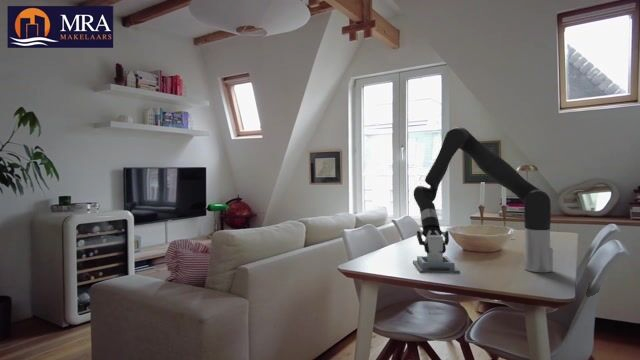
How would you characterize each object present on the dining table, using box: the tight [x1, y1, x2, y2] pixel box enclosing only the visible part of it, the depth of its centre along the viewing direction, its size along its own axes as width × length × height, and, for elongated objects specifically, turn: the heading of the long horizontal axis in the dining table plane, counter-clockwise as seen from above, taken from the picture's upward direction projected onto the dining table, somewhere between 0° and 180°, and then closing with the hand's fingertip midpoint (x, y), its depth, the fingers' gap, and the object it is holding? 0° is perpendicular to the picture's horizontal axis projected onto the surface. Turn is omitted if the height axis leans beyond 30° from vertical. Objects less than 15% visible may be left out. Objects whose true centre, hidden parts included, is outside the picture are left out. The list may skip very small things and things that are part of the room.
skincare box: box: [426, 235, 444, 262], centre depth 162 cm, size 6×4×12 cm
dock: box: [412, 255, 461, 274], centre depth 162 cm, size 16×18×4 cm
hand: (435, 252), depth 160 cm, fingers closed on skincare box, 6 cm apart
